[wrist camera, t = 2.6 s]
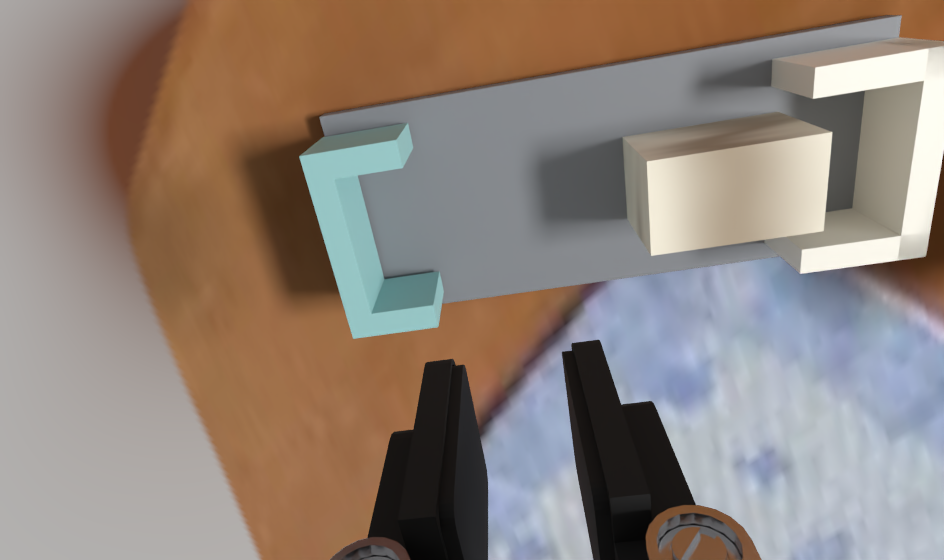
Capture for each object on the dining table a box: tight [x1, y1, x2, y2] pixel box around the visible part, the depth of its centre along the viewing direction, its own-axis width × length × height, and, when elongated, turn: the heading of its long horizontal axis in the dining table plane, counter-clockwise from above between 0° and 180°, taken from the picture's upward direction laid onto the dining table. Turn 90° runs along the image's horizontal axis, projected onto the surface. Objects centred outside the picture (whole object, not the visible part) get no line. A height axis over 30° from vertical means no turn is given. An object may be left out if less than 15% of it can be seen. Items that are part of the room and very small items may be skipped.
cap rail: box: [319, 15, 944, 304], centre depth 23 cm, size 22×9×4 cm, turn 100°
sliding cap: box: [299, 123, 444, 339], centre depth 23 cm, size 4×8×3 cm, turn 10°
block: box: [622, 112, 832, 256], centre depth 22 cm, size 6×4×4 cm, turn 100°
